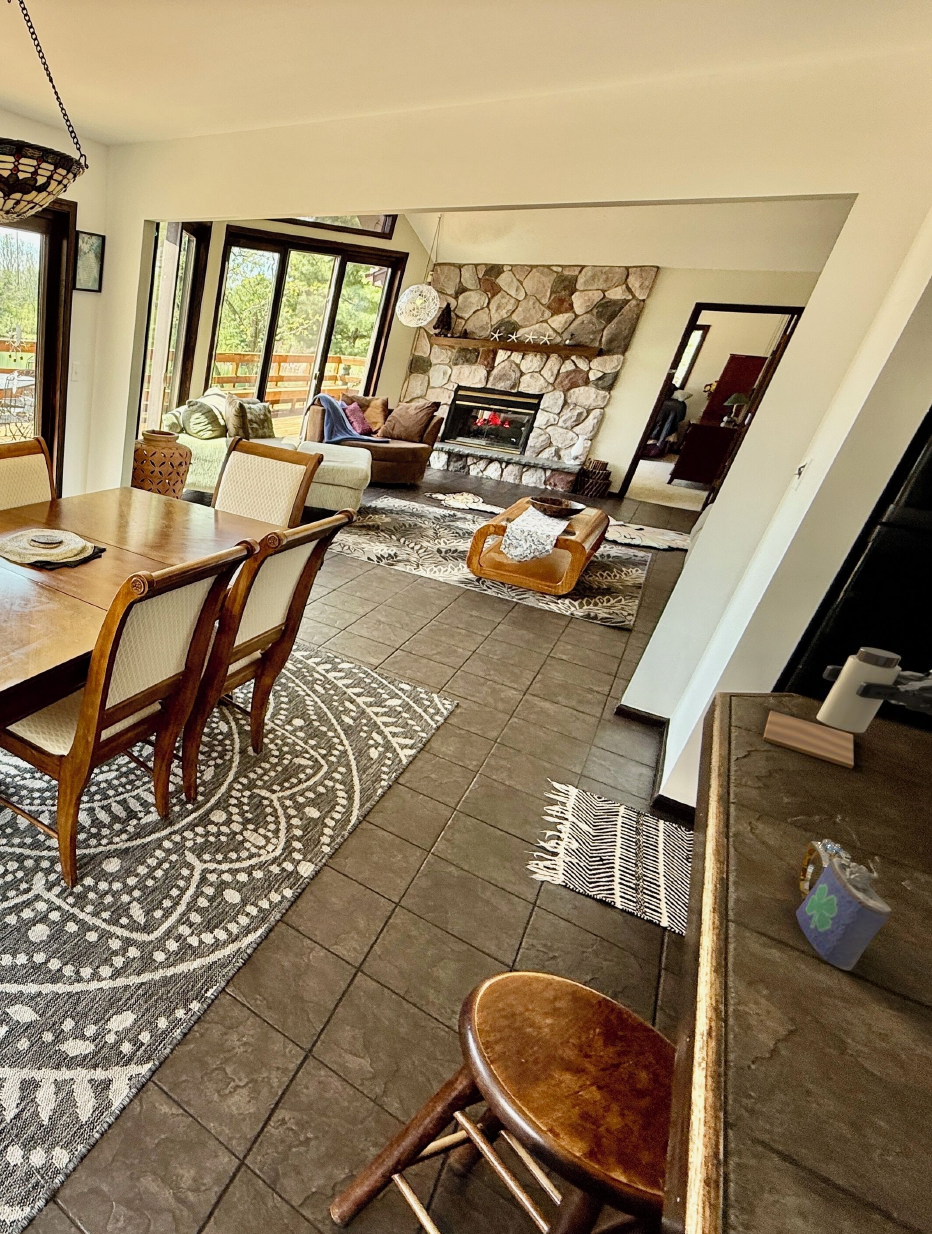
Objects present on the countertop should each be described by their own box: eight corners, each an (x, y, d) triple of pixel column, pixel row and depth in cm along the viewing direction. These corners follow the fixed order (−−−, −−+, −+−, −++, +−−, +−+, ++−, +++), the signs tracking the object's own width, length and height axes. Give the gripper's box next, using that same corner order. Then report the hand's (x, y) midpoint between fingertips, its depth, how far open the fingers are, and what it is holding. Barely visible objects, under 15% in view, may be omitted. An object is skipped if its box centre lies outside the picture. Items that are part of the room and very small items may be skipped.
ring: (781, 875, 83) (811, 824, 80) (816, 889, 81) (849, 837, 78) (785, 905, 78) (818, 851, 75) (823, 920, 76) (858, 866, 73)
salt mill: (853, 720, 101) (894, 650, 96) (873, 736, 97) (916, 663, 92) (809, 712, 103) (847, 642, 98) (826, 726, 99) (866, 654, 94)
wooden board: (851, 768, 109) (854, 764, 109) (762, 740, 116) (764, 736, 116) (851, 738, 119) (853, 734, 119) (769, 713, 126) (770, 710, 126)
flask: (853, 980, 68) (908, 901, 64) (815, 967, 69) (867, 889, 65) (817, 921, 76) (864, 848, 72) (783, 910, 77) (827, 838, 73)
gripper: (942, 653, 100) (815, 639, 103) (1050, 696, 87) (901, 678, 89) (915, 696, 103) (793, 682, 105) (1016, 744, 90) (873, 726, 92)
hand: (843, 680), depth 97 cm, fingers closed on salt mill, 5 cm apart
